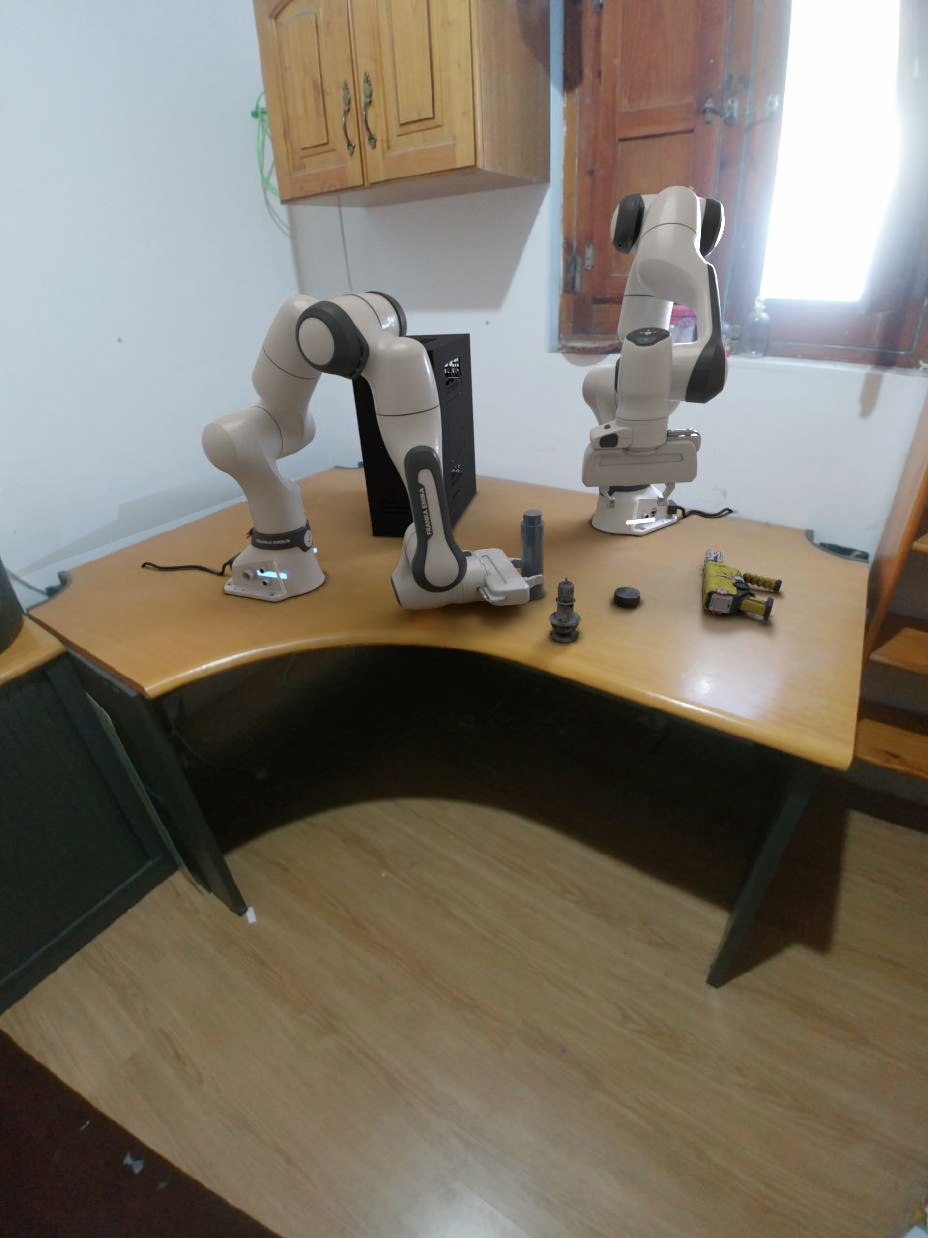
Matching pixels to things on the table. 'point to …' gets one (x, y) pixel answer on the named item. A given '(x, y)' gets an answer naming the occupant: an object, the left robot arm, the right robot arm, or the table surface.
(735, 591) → the toy gun
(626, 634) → the table surface
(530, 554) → the grey cylindrical piece
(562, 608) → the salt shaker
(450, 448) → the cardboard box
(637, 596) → the lid
